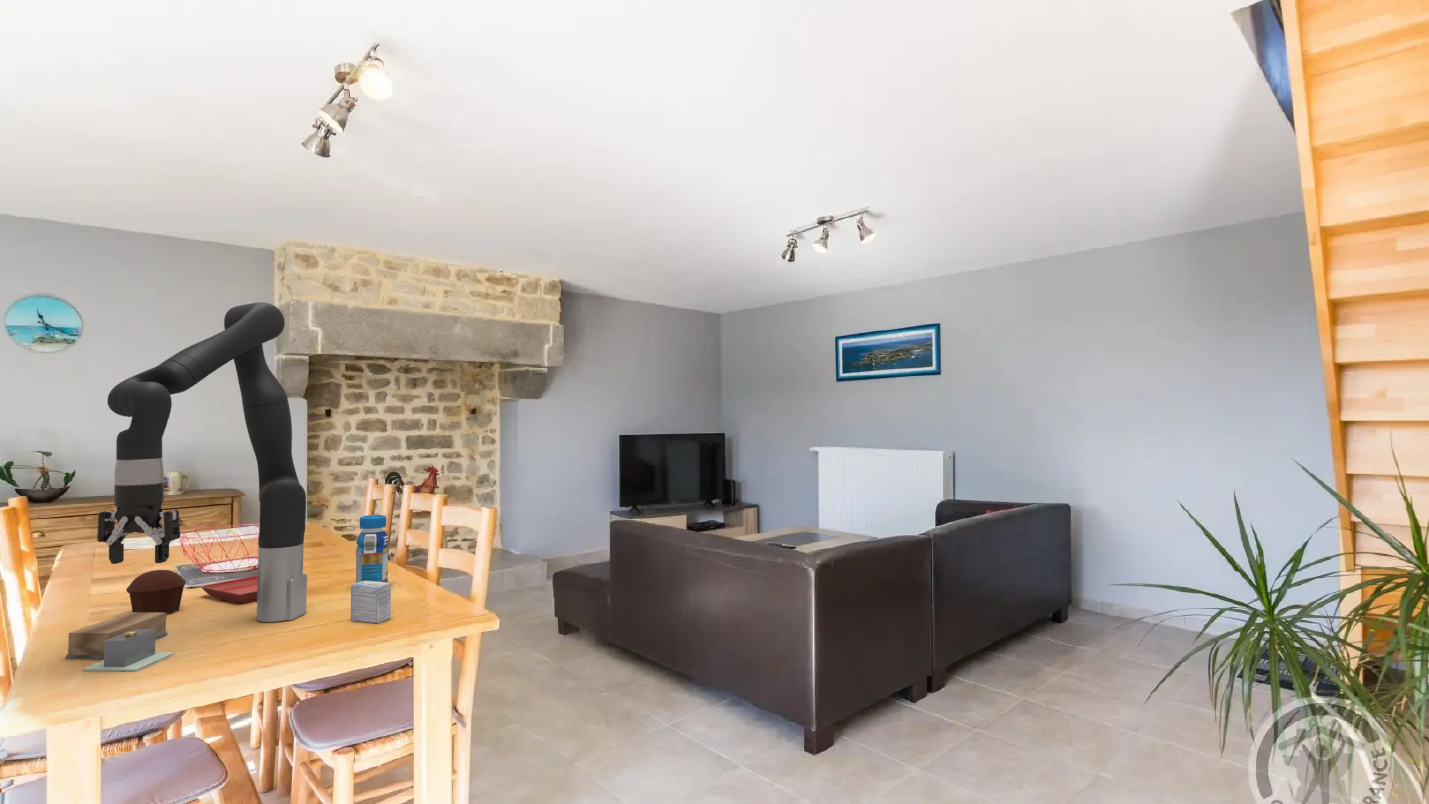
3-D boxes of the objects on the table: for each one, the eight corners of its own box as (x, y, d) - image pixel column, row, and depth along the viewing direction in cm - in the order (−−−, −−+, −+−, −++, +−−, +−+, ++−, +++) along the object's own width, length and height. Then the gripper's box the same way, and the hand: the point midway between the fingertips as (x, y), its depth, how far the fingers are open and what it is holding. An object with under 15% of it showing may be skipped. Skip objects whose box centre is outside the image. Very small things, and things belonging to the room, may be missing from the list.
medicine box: (391, 618, 161) (392, 582, 161) (377, 624, 157) (378, 586, 157) (364, 615, 163) (364, 580, 164) (349, 621, 159) (350, 584, 159)
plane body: (167, 635, 148) (167, 612, 148) (108, 658, 133) (109, 633, 133) (128, 634, 148) (129, 611, 148) (66, 658, 133) (66, 633, 133)
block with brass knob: (155, 654, 135) (155, 626, 135) (124, 667, 128) (125, 637, 128) (135, 654, 135) (135, 625, 135) (103, 667, 128) (104, 637, 128)
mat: (174, 654, 136) (174, 652, 136) (136, 671, 127) (136, 669, 127) (124, 654, 136) (124, 652, 136) (83, 671, 127) (83, 668, 127)
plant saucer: (269, 583, 194) (269, 572, 195) (309, 591, 187) (309, 579, 187) (198, 598, 178) (199, 586, 178) (239, 607, 170) (239, 594, 170)
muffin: (194, 610, 166) (195, 569, 166) (138, 622, 157) (139, 579, 157) (172, 603, 172) (173, 564, 172) (117, 614, 163) (118, 572, 163)
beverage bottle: (347, 589, 187) (349, 517, 188) (373, 582, 195) (375, 513, 196) (369, 592, 184) (370, 519, 184) (395, 585, 192) (396, 515, 192)
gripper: (190, 479, 138) (189, 558, 138) (118, 479, 138) (118, 559, 138) (161, 483, 131) (160, 566, 131) (85, 483, 130) (85, 567, 130)
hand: (139, 562), depth 134 cm, fingers open, 8 cm apart
